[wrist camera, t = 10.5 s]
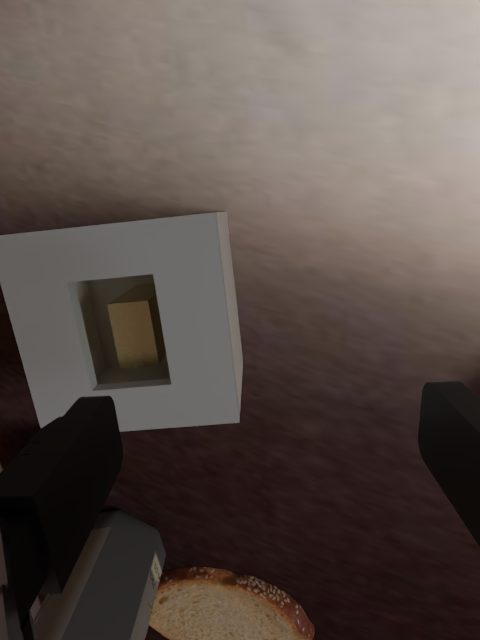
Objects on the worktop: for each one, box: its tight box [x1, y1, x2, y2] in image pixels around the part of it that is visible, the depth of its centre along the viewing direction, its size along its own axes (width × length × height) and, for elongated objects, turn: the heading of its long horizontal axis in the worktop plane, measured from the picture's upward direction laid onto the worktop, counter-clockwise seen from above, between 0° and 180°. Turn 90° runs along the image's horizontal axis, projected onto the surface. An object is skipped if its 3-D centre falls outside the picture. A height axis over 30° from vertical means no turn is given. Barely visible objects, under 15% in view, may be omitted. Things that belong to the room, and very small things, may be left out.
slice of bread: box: [149, 567, 315, 640], centre depth 45 cm, size 18×18×4 cm
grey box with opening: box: [0, 212, 243, 431], centre depth 30 cm, size 14×14×11 cm
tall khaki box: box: [107, 284, 166, 369], centre depth 31 cm, size 5×3×7 cm, turn 6°
